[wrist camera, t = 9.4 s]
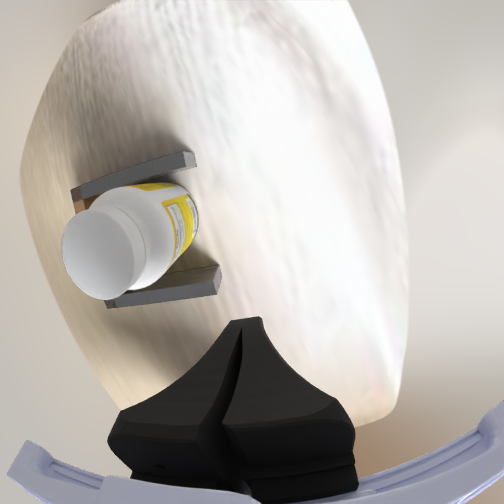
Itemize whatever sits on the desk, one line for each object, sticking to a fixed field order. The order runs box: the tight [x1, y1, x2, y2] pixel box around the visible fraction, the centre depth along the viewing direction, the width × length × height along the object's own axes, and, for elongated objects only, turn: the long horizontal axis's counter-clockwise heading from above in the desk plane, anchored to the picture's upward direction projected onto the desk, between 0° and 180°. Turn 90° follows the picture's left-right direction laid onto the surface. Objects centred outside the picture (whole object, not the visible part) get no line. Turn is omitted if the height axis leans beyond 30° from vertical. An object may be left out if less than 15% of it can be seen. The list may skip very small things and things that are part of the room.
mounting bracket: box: [71, 151, 222, 309], centre depth 18 cm, size 9×9×3 cm
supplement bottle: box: [62, 182, 199, 300], centre depth 15 cm, size 5×5×10 cm
